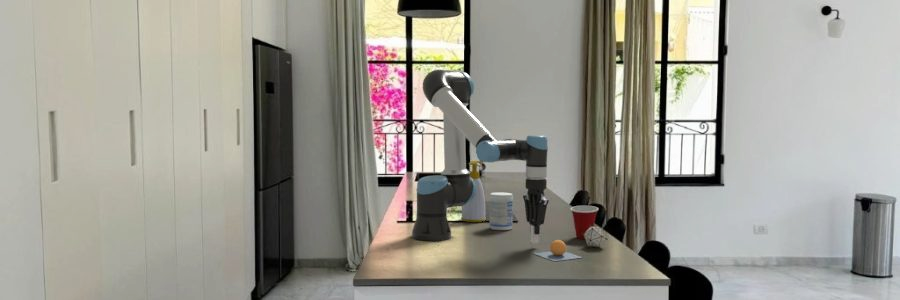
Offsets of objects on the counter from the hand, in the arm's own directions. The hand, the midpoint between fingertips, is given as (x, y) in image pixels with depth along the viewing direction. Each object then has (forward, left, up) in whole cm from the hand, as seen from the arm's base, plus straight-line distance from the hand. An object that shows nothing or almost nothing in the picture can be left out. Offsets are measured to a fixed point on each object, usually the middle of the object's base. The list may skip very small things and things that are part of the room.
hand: (534, 242), depth 246 cm
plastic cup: (-7, +28, -2) cm, 29 cm away
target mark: (+14, 0, -2) cm, 14 cm away
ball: (+14, 0, +1) cm, 14 cm away
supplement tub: (-36, +8, -2) cm, 37 cm away
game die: (+8, +21, -2) cm, 23 cm away
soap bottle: (-57, +7, -2) cm, 57 cm away
